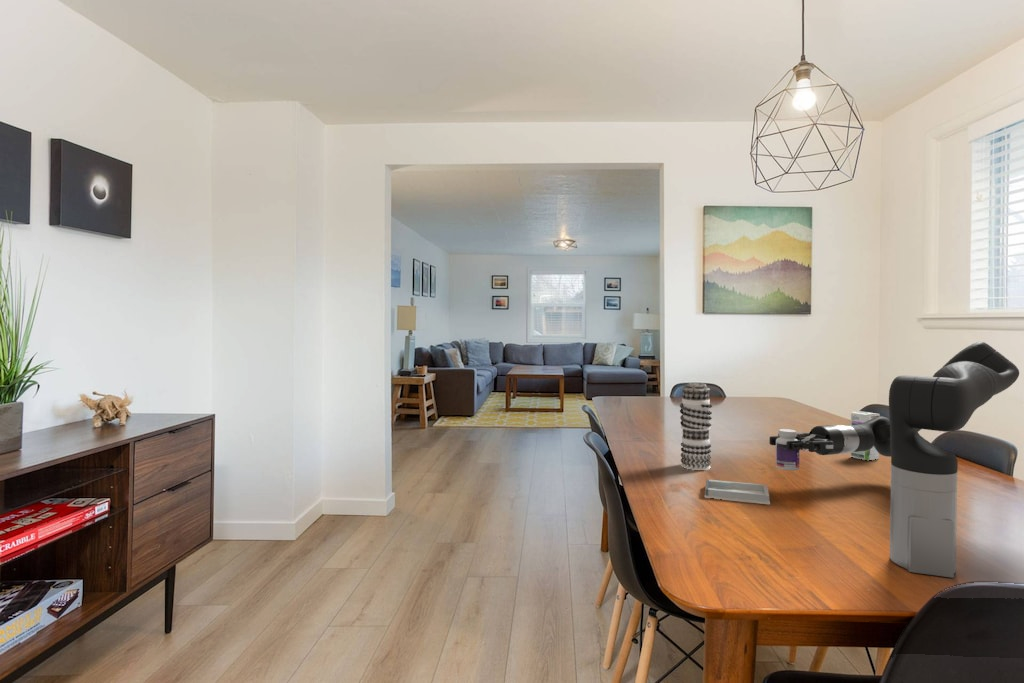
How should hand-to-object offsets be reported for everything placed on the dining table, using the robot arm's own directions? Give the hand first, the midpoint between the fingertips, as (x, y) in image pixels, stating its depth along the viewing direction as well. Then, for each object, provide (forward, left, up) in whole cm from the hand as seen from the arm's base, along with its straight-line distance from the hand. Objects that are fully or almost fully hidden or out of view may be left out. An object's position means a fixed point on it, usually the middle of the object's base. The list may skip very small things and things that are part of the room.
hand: (779, 443), depth 135 cm
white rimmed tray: (-7, +11, -12) cm, 18 cm away
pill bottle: (+1, -2, -7) cm, 7 cm away
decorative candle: (+17, +21, -12) cm, 29 cm away
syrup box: (+45, -28, -12) cm, 54 cm away
